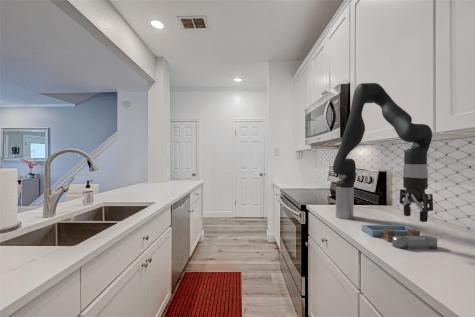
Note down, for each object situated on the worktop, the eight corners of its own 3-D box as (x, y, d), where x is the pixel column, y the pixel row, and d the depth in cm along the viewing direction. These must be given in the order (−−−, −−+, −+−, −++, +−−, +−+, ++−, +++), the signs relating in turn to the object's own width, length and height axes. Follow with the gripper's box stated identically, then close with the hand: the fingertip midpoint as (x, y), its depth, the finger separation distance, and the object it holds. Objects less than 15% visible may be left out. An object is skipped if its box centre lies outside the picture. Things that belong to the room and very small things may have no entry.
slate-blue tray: (361, 230, 113) (361, 224, 113) (404, 230, 113) (404, 225, 113) (372, 236, 104) (372, 230, 104) (419, 237, 104) (419, 231, 104)
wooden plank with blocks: (380, 237, 103) (380, 228, 103) (413, 237, 103) (413, 228, 103) (388, 241, 98) (388, 231, 98) (422, 242, 98) (422, 232, 98)
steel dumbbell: (389, 244, 95) (389, 235, 95) (430, 244, 95) (430, 235, 95) (397, 249, 90) (397, 239, 90) (440, 249, 90) (440, 240, 90)
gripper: (393, 174, 100) (393, 214, 100) (419, 177, 85) (419, 223, 85) (411, 174, 100) (411, 214, 100) (440, 177, 85) (440, 223, 85)
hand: (414, 218), depth 93 cm, fingers open, 8 cm apart
